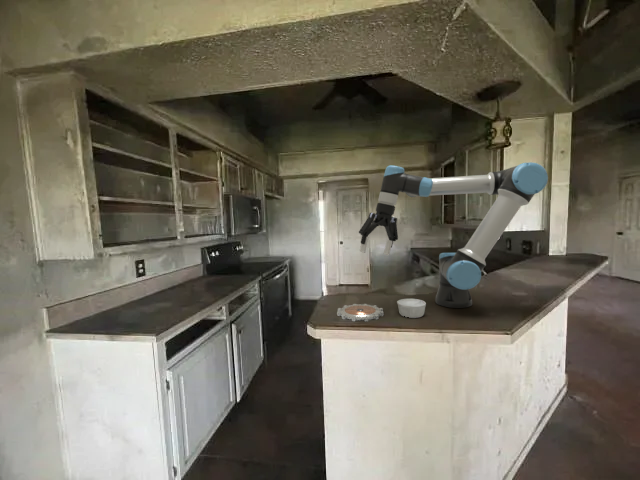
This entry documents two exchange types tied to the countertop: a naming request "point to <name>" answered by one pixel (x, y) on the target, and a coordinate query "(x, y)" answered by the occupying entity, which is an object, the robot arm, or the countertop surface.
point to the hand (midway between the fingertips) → (374, 253)
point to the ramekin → (411, 307)
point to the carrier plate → (360, 312)
